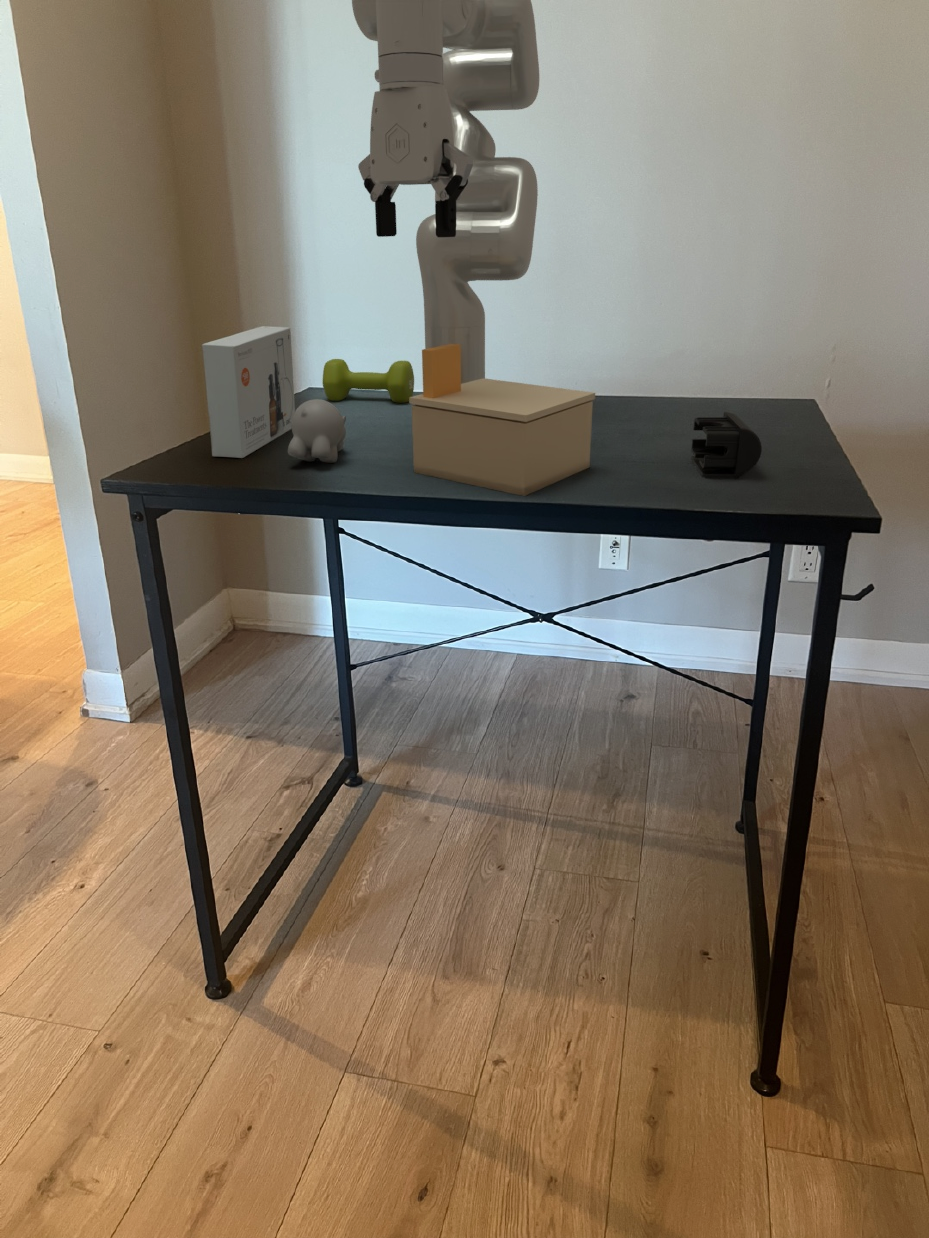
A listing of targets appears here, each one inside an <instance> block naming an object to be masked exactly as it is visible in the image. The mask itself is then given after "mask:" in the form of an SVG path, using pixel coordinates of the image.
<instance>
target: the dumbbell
mask: <svg viewBox="0 0 929 1238" xmlns="http://www.w3.org/2000/svg"><path fill="white" fill-rule="evenodd" d="M323 366H324V367H323V372H322V388H323V390H324V394H325V396H326V398H327V399H328V400H329V401H332V402H333V401H334V402H340V401H342V400H344V399H345V398H347V396H348V395H349V393H350V391H351V390H352V389H353V390H366V391H368V390H369V391H371V390H372V391H374V390H375V391H383V390H385V391H387V392H388V393H389V397H390V399H391V401H392V402H394V403H396V404H405V403H408V402H409V397H413V396H414V390H415V389H414V388H415V375H414V369H413V365H412V363H411V362H410V361H409V360H397V361H394V362H393V363H392V364H391V365H390V367H389V369H388V371H387V372H383V373H382V372H374V371H373V372H372V371H371V372H369V371H368V372H367V371H366V372H363V371H362V372H359V371H358V372H357V371H356V372H353V371H351V370H350V369H349V365H348V364H347V362H346V361H345V360H344V359H342V358H331V359H329V360H328V361H327V362H325V363H324V365H323Z"/></svg>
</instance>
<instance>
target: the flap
mask: <svg viewBox="0 0 929 1238" xmlns="http://www.w3.org/2000/svg"><path fill="white" fill-rule="evenodd" d="M421 360H422V361H421V364H422V366H421V367H422V393H420V394H416V395H412V397H409V401H408V402H409V405H422V406H428V407H435V408H441V409H447V410H453V411H460V412H466V413H472V414H479V415H485V416H491V417H498V418H504V419H510V420H517V421H523V422H528V421H531V420H534V419H537V418H540V417H542V416H545V415H548V414H551V413H554V412H557V411H560V410H563V409H566V408H569V407H572V406H575V405H578V404H581V403H584V402H587V401H592V400H595V399H596V392H593V391H584V390H577V389H570V388H569V389H568V388H560V387H552V386H547V385H546V386H545V385H537V384H531V383H530V384H529V383H524V382H517V381H516V382H515V381H506V380H500V379H499V380H498V379H492V378H486V377H485V378H483V379H479V380H475V381H471V382H467V383H463V384H461V349H460V345H457V344H448V345H443V346H438V347H433V348H428V349H425V348H424V349H421Z"/></svg>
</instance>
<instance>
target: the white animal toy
mask: <svg viewBox="0 0 929 1238" xmlns="http://www.w3.org/2000/svg"><path fill="white" fill-rule="evenodd" d="M346 421H347V416H346V415H343V416H342V414H341V412H340V411H339V409H338V408H337V407H336V406H335V405H334V404H332V403H331V402H329V401H327V400H324V399H321V398H319V399H317V398H316V399H309V400H307V401H304V402H302V403H301V404H300V405H299V406H298V407H297V408H295V412H294V414H293V417H292V422H291V427H292V429H291V431H292V432H291V433H292V435H293V437H292V438H291V440H290V442H289V444H288V447H287V454H288V455H289V456H291V457H292V458H293V457H294V458H295V459H296V458H297V459H298V460H301V461H304V462H309V463H310V462H315V461H316V458H317V459H318V460H319V461H321V462H322V463H329V464H335V463H336V462H337V460H338V452H340V451H341V450H343V448H344V446H345V444H344V443H345V442H344V441H345V439H346V434H347V431H346V427H345V423H346Z"/></svg>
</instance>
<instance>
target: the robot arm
mask: <svg viewBox="0 0 929 1238" xmlns="http://www.w3.org/2000/svg"><path fill="white" fill-rule="evenodd" d="M351 6H352V12H353V15H354V16H353V17H354V19H355V22H356V25H357V26H358V28H359V30H360V31H361V33H362V35H364V36H365V38H366V39H368V40H370V41H373V42H377V57H378V58H377V59H378V61H377V63H378V69H376V70H375V71H374V79H375V81H376V83H378V84H379V86H378V88H379V89H378V90H377V91H374V93H373V94H374V95H373V99H372V107H371V116H370V135H369V136H370V137H369V139H370V141H369V154H368V155H366V157H364V158H363V159H362V160H361V161H360V162H359V163H358V166H357V167H358V170H359V173H360V175H361V178H362V181H363V187H364V188H365V189H366V191H367V192H368V193H369V197H370V200H371V202H372V203H374V209H375V211H374V213H375V232H376V233H375V234H376V236H377V237H378V238H379V237H380V238H381V237H386V238H387V237H396V235H397V207H396V201H392V199H393V197H394V195H395V194H396V191H397V189H398V188H399V186H400V185H403V186H406V185H407V186H408V185H409V186H411V185H413V186H415V185H431V187H432V188H433V190H434V203H435V206H434V210H435V214H431V215H428V216H427V217H425V219H423V220H422V221H421V222H420V224H419V226H418V227H417V231H416V236H415V238H416V239H415V245H416V247H415V249H416V254H417V260H418V266H419V271H420V277H421V285H422V293H423V294H422V295H423V296H422V297H423V315H424V316H423V317H424V349H428V348H433V347H438V346H443V345H448V344H457V345H460V349H461V384H463V383H467V382H471V381H475V380H479V379H483V378H485V379H486V313H485V308H484V306H483V303H482V301H481V300H480V298H479V296H478V295H477V293H476V292H475V291H474V290H473V288H472V287H471V286H470V284H469V282H475V281H515V280H519V279H521V278H522V277H524V276H525V275H526V274H527V272H528V270H529V267H530V266H531V265H530V264H531V260H532V253H533V247H534V246H533V245H534V236H535V226H536V217H537V207H538V196H539V194H538V192H539V191H538V190H539V189H538V179H537V174H536V171H535V168H534V167H533V165H532V164H531V162H530V161H528V160H526V159H524V158H521V157H515V156H512V157H511V156H508V157H507V156H505V157H504V156H499V157H498V156H497V157H496V143H495V140H494V138H493V136H492V134H491V133H490V131H489V130H488V129H487V128H486V126H485V125H484V124H483V123H482V122H481V121H480V120H479V119H478V118H477V117H476V116H474V114H472V113H471V112H481V111H516V110H519V111H520V110H524V109H526V108H529V107H531V105H533V104H534V103H535V101H536V99H537V97H538V93H539V88H540V64H539V54H538V43H537V31H536V30H537V29H536V23H535V15H534V7H533V3H532V1H531V0H351ZM444 48H446V49H449V50H448V51H445V52H444Z"/></svg>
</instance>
